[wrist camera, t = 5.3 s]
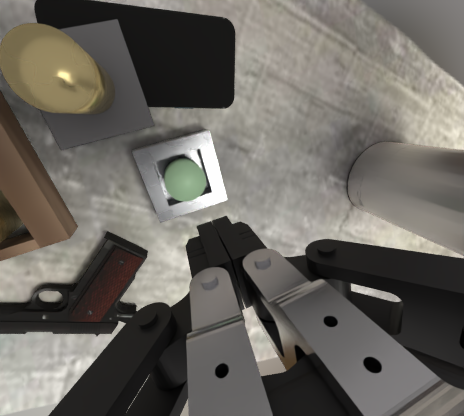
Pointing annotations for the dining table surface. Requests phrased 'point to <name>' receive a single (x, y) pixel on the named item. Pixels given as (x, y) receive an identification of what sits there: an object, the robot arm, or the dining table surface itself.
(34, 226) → the brown wooden rectangular frame
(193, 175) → the button
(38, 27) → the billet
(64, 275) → the dining table surface
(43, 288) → the handgun
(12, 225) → the billet seated
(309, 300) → the robot arm
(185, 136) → the button housing
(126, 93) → the mat
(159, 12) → the smartphone
